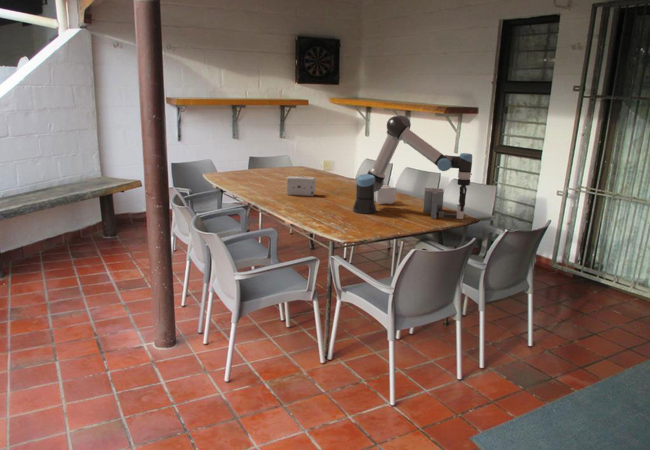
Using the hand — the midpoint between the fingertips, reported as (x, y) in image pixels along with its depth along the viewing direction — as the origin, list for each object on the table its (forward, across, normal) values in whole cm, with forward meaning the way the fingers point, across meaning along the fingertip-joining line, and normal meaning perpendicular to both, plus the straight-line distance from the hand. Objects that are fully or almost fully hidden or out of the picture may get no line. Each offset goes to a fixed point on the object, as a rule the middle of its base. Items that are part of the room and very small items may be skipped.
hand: (460, 214), depth 331 cm
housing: (+2, +8, +17) cm, 19 cm away
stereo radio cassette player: (+2, +42, +112) cm, 120 cm away
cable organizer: (+2, +32, +51) cm, 60 cm away
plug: (+2, 0, +6) cm, 6 cm away
